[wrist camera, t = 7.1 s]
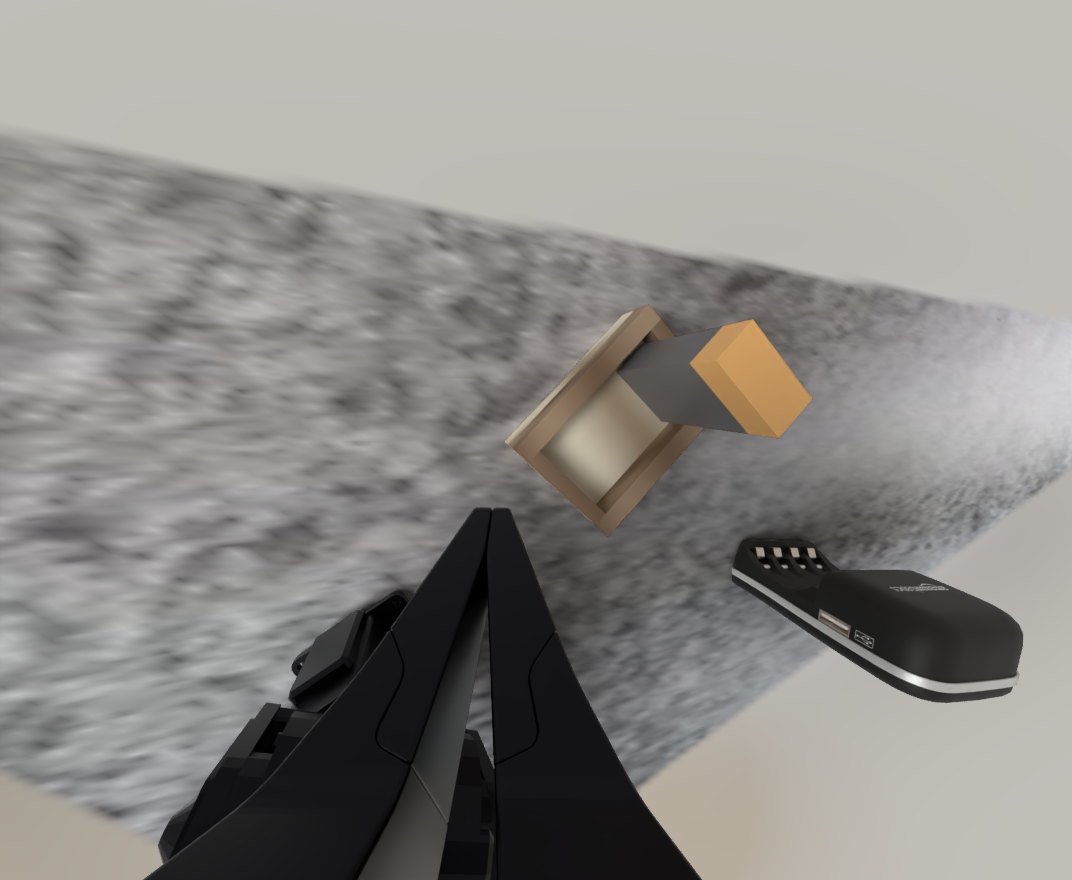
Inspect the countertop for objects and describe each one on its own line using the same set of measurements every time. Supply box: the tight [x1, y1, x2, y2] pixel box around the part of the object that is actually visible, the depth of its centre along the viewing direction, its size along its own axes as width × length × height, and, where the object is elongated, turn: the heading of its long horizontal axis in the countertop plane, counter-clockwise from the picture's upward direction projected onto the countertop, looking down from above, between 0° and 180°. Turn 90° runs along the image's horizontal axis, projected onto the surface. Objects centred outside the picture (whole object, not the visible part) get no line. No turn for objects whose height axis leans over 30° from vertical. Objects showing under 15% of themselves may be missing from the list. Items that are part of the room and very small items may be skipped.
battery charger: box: [731, 539, 1023, 703], centre depth 22 cm, size 7×4×11 cm, turn 84°
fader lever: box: [616, 319, 812, 438], centre depth 18 cm, size 2×4×8 cm, turn 46°
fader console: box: [505, 304, 703, 536], centre depth 22 cm, size 10×7×3 cm
